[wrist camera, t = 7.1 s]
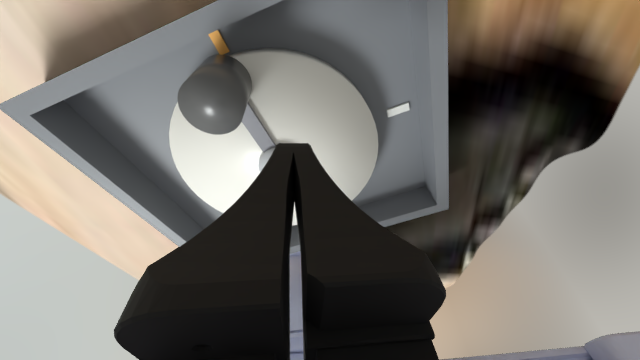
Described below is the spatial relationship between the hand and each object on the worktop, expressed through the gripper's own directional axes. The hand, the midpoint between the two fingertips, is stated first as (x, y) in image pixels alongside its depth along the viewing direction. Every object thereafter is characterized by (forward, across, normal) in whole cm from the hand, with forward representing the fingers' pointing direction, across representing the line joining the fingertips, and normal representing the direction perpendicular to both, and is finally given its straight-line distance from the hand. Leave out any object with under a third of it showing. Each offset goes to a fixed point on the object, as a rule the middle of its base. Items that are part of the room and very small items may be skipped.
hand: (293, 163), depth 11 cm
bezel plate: (+9, +1, +5) cm, 11 cm away
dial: (+8, +1, +5) cm, 9 cm away
